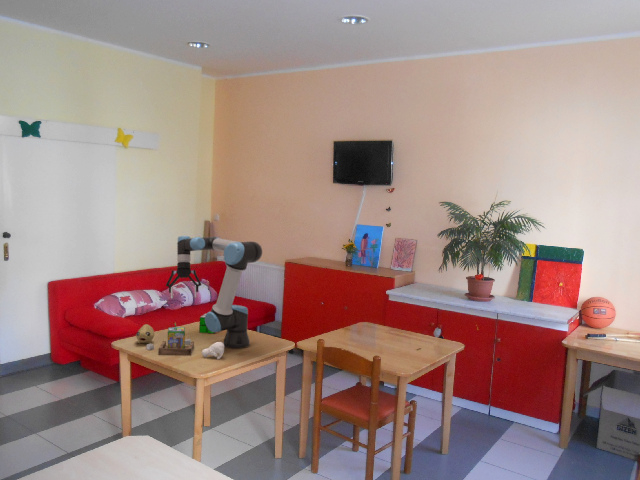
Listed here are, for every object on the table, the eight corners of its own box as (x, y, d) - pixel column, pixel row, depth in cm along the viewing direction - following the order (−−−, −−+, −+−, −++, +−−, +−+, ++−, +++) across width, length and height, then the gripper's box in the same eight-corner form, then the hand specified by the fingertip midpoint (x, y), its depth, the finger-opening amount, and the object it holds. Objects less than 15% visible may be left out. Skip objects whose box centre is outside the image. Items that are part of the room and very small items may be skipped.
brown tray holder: (163, 346, 298) (163, 341, 298) (193, 347, 300) (194, 341, 300) (158, 354, 283) (158, 348, 283) (190, 355, 285) (190, 349, 285)
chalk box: (184, 351, 288) (185, 325, 287) (167, 352, 286) (167, 325, 285) (184, 346, 297) (185, 320, 296) (167, 347, 295) (168, 321, 294)
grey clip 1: (150, 348, 295) (151, 343, 294) (154, 349, 293) (154, 344, 293) (146, 349, 292) (146, 344, 292) (149, 350, 290) (149, 345, 290)
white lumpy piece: (222, 343, 280) (200, 344, 280) (223, 359, 281) (201, 360, 281) (224, 340, 286) (202, 341, 286) (225, 355, 287) (203, 356, 287)
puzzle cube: (219, 330, 340) (219, 314, 339) (214, 334, 330) (215, 318, 329) (204, 328, 341) (204, 313, 340) (199, 332, 331) (199, 317, 330)
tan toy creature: (133, 346, 296) (133, 327, 295) (138, 340, 308) (138, 322, 307) (151, 346, 297) (151, 328, 296) (155, 340, 309) (156, 322, 308)
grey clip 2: (190, 343, 307) (190, 339, 307) (190, 344, 304) (190, 340, 304) (185, 343, 307) (185, 339, 307) (184, 344, 304) (185, 340, 304)
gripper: (205, 262, 320) (205, 297, 317) (163, 263, 316) (162, 298, 313) (204, 261, 312) (204, 297, 309) (161, 261, 309) (160, 298, 306)
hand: (183, 298), depth 311 cm, fingers open, 13 cm apart
